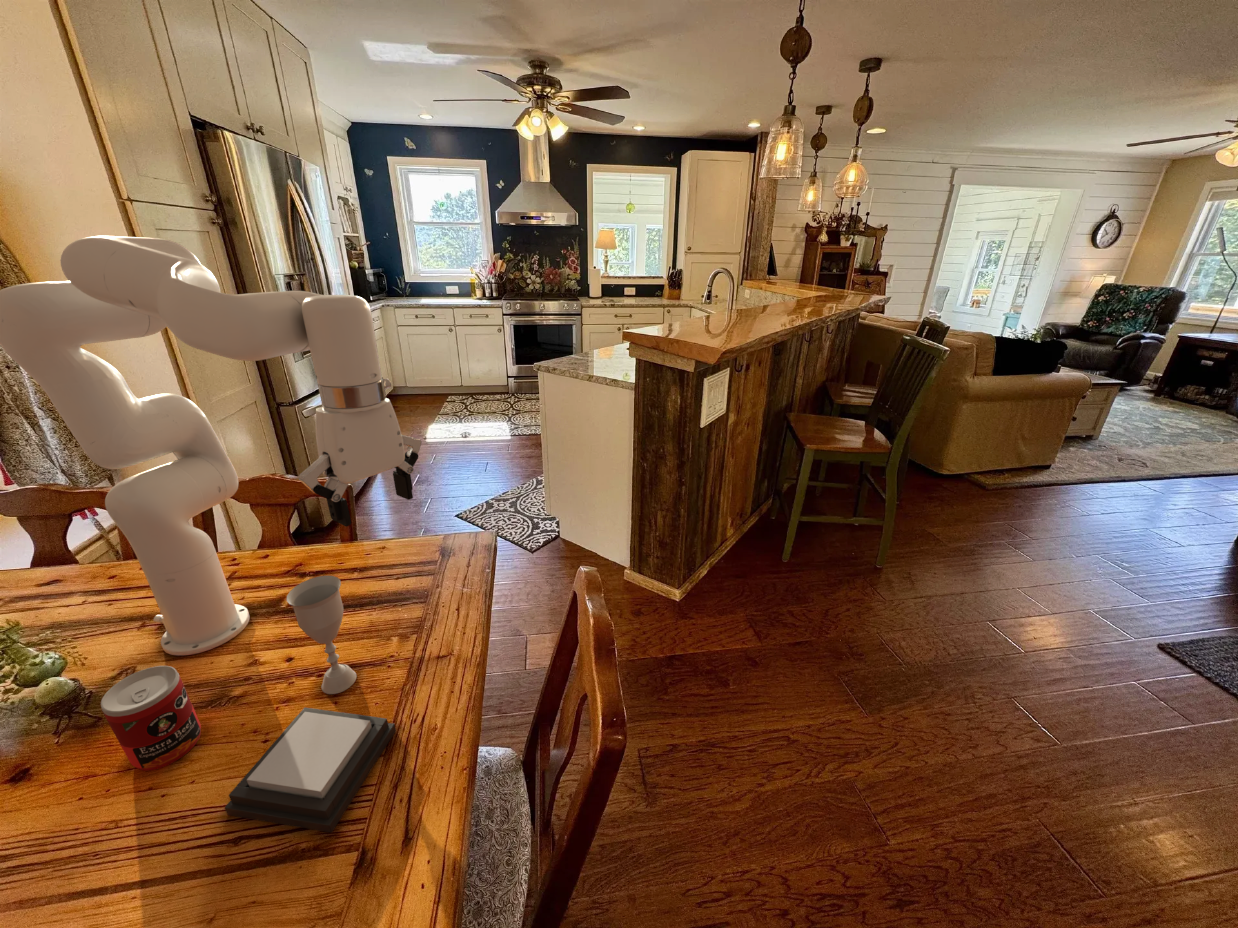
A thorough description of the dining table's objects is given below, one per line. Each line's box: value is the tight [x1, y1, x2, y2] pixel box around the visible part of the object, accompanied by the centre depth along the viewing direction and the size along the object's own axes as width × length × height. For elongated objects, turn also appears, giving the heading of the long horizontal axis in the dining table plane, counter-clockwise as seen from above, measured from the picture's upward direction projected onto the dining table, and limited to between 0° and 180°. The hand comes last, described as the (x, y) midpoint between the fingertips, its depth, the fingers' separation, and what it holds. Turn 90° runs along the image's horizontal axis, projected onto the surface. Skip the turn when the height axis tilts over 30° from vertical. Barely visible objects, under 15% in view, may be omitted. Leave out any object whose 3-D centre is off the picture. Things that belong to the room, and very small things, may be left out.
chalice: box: [286, 575, 357, 695], centre depth 76 cm, size 7×7×18 cm
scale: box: [224, 706, 397, 834], centre depth 66 cm, size 14×14×3 cm
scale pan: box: [247, 712, 372, 800], centre depth 65 cm, size 10×10×2 cm
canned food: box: [100, 665, 202, 772], centre depth 67 cm, size 8×8×11 cm
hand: (375, 509), depth 71 cm, fingers open, 9 cm apart
